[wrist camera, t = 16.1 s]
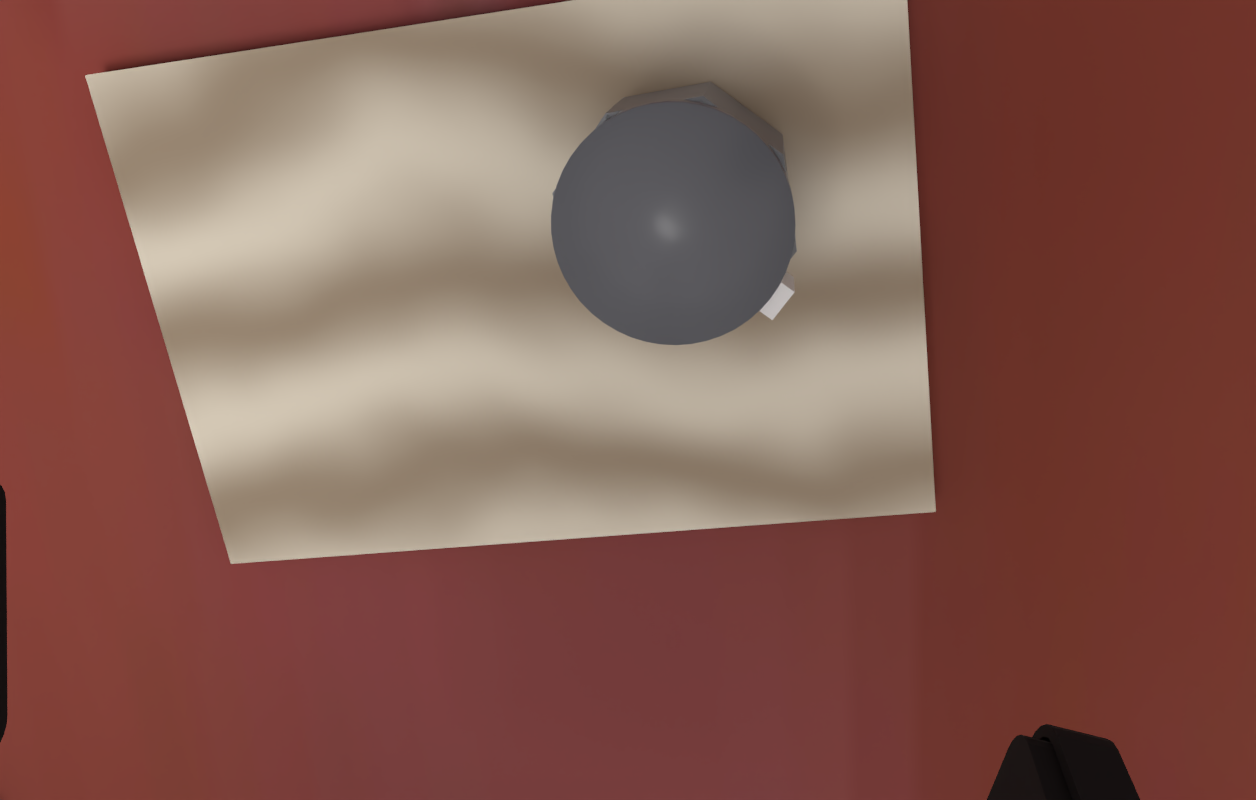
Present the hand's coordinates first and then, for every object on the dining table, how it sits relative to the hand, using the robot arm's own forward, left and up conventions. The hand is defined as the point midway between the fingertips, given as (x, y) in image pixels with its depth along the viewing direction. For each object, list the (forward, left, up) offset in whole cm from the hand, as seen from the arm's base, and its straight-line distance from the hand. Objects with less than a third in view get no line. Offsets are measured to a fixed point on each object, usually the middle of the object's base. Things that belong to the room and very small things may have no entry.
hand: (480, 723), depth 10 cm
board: (-3, +6, -28) cm, 29 cm away
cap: (0, 0, -26) cm, 26 cm away
